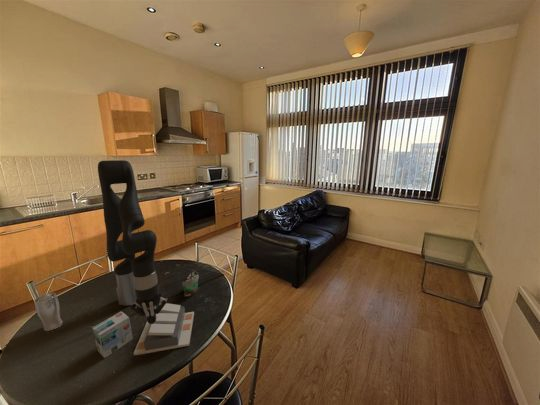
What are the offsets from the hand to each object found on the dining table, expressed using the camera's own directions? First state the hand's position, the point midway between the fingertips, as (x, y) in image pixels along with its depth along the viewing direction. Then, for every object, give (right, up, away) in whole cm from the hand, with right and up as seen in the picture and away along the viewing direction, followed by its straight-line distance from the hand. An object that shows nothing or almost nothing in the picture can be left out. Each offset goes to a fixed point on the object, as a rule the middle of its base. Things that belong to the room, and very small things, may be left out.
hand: (152, 322), depth 85 cm
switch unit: (+1, -9, +9) cm, 13 cm away
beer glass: (-50, -9, +12) cm, 53 cm away
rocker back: (0, -1, +13) cm, 13 cm away
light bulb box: (-17, -11, +3) cm, 20 cm away
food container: (+4, -3, +35) cm, 36 cm away
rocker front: (+3, -4, +2) cm, 6 cm away
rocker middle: (+1, -3, +7) cm, 8 cm away
